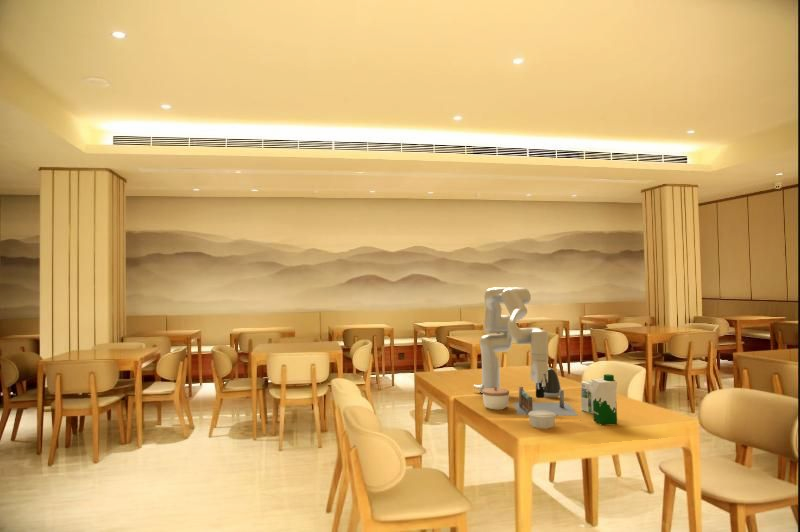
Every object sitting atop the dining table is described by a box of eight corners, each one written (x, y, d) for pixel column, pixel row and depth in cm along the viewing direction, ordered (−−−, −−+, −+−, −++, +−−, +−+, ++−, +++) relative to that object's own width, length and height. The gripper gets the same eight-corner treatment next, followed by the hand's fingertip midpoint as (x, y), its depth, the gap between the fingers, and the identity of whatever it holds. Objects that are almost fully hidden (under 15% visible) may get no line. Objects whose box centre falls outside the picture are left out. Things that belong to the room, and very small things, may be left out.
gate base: (517, 417, 235) (517, 393, 235) (513, 404, 258) (513, 383, 259) (578, 418, 231) (577, 394, 231) (568, 405, 255) (567, 383, 255)
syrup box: (581, 413, 239) (580, 381, 240) (591, 412, 242) (590, 380, 242) (589, 416, 234) (589, 383, 234) (600, 414, 236) (599, 382, 237)
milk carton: (620, 425, 220) (619, 376, 220) (599, 425, 219) (598, 377, 219) (610, 419, 228) (609, 373, 229) (590, 420, 228) (589, 373, 228)
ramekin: (544, 431, 213) (543, 418, 213) (522, 425, 222) (522, 412, 222) (561, 426, 219) (561, 413, 219) (540, 421, 228) (539, 408, 228)
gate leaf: (520, 406, 247) (520, 390, 248) (523, 406, 248) (523, 390, 248) (529, 414, 232) (528, 397, 232) (532, 414, 232) (532, 397, 232)
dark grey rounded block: (562, 396, 274) (561, 367, 274) (559, 400, 264) (558, 370, 265) (542, 395, 278) (541, 366, 279) (538, 399, 269) (538, 369, 269)
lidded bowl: (493, 414, 240) (493, 390, 240) (477, 408, 251) (476, 385, 252) (515, 410, 246) (514, 387, 246) (498, 405, 257) (497, 382, 257)
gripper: (525, 354, 245) (526, 393, 245) (537, 360, 231) (538, 402, 231) (541, 354, 246) (541, 393, 246) (554, 359, 231) (554, 401, 231)
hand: (539, 397), depth 238 cm, fingers closed
